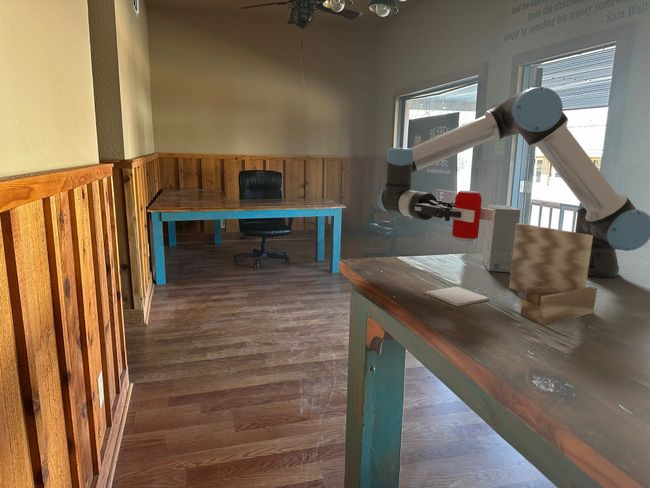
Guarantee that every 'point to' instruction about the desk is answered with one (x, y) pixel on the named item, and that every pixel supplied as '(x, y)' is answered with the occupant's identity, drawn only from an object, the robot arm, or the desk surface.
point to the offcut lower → (530, 309)
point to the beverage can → (463, 228)
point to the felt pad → (457, 296)
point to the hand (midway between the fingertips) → (483, 216)
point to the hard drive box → (500, 238)
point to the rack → (553, 270)
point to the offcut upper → (539, 293)
